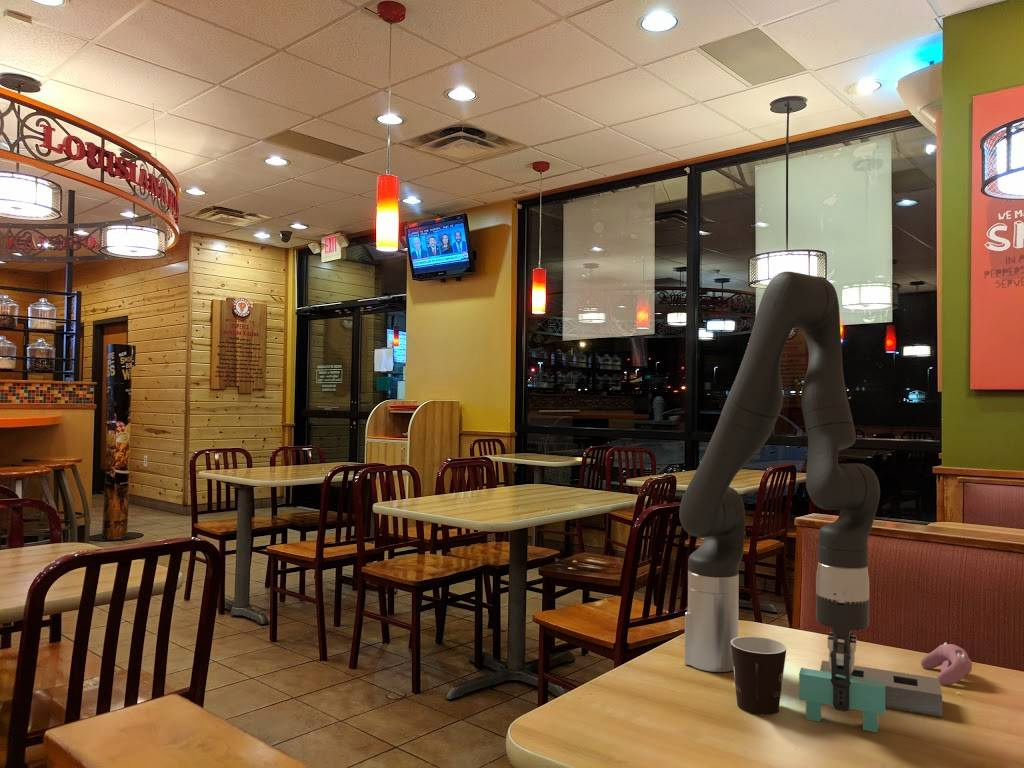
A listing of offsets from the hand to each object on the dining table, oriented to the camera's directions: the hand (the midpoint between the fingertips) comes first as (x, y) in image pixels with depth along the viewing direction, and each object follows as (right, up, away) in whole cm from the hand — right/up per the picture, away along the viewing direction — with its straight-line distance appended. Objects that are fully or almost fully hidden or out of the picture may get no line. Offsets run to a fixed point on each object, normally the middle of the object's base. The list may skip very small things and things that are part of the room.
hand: (841, 705), depth 115 cm
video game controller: (+28, -4, +20) cm, 35 cm away
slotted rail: (+11, -3, +10) cm, 15 cm away
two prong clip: (0, -3, 0) cm, 3 cm away
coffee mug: (-12, -3, +5) cm, 13 cm away
